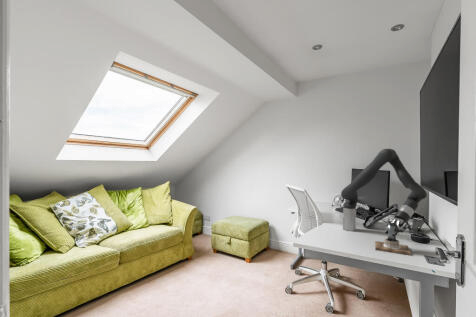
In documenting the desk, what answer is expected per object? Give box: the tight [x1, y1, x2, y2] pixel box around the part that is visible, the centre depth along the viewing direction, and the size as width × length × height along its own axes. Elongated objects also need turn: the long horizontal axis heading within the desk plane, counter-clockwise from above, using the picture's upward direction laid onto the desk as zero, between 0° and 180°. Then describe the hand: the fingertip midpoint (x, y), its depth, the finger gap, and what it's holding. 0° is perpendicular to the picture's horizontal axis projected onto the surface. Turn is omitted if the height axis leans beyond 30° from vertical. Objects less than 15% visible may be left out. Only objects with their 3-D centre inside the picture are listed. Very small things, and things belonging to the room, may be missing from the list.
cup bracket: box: [374, 237, 412, 256], centre depth 154 cm, size 18×14×6 cm
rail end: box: [387, 223, 397, 242], centre depth 154 cm, size 5×5×12 cm
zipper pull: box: [408, 219, 425, 235], centre depth 194 cm, size 9×7×25 cm
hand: (389, 234), depth 154 cm, fingers closed on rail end, 4 cm apart
